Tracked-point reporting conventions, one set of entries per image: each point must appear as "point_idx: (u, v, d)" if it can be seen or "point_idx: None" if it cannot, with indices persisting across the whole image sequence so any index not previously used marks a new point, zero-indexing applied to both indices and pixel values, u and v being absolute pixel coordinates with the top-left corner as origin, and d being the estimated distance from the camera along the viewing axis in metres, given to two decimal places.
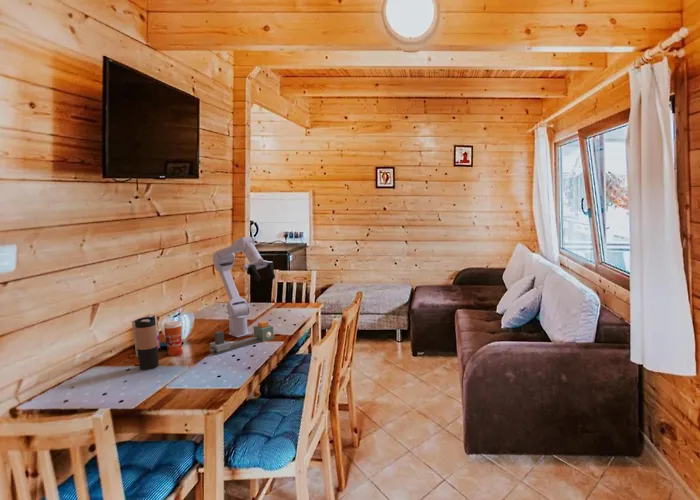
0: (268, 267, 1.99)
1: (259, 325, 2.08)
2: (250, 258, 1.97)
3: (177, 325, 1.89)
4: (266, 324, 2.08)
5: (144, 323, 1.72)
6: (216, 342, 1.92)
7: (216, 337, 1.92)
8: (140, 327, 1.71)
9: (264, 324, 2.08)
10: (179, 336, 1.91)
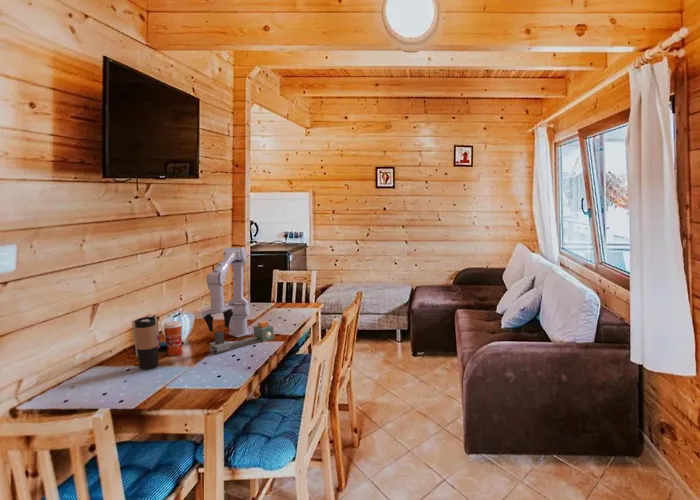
0: (226, 314, 1.94)
1: (259, 325, 2.08)
2: (212, 303, 1.89)
3: (177, 325, 1.89)
4: (266, 324, 2.08)
5: (144, 323, 1.72)
6: (216, 342, 1.92)
7: (216, 337, 1.92)
8: (140, 327, 1.71)
9: (264, 324, 2.08)
10: (179, 336, 1.91)
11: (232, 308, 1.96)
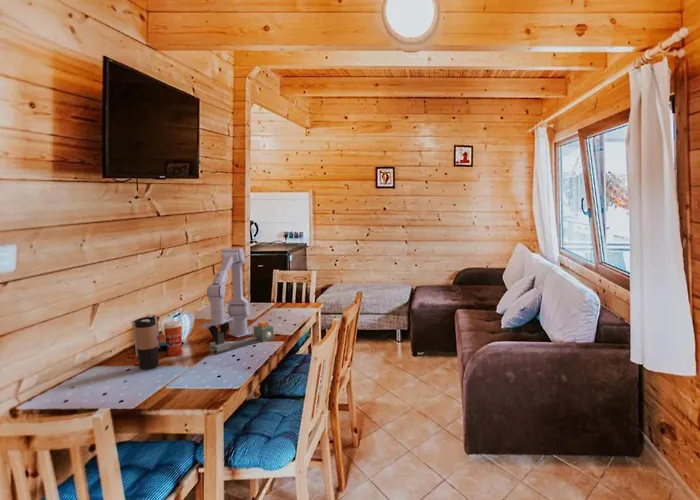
0: (223, 327, 1.93)
1: (259, 325, 2.08)
2: (212, 315, 1.89)
3: (177, 325, 1.89)
4: (266, 324, 2.08)
5: (144, 323, 1.72)
6: None
7: None
8: (140, 327, 1.71)
9: (264, 324, 2.08)
10: (179, 336, 1.91)
11: (232, 320, 1.96)
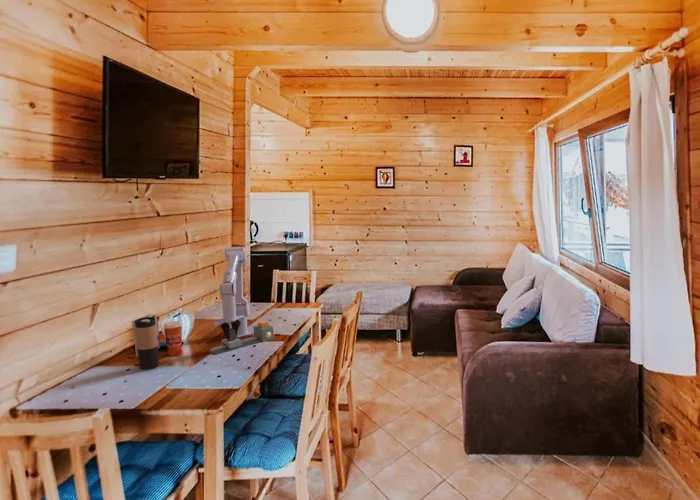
0: (234, 324, 1.97)
1: (259, 325, 2.08)
2: (224, 312, 1.93)
3: (177, 325, 1.89)
4: (266, 324, 2.08)
5: (144, 323, 1.72)
6: (228, 339, 1.96)
7: None
8: (140, 327, 1.71)
9: (264, 324, 2.08)
10: (179, 336, 1.91)
11: (244, 317, 2.00)
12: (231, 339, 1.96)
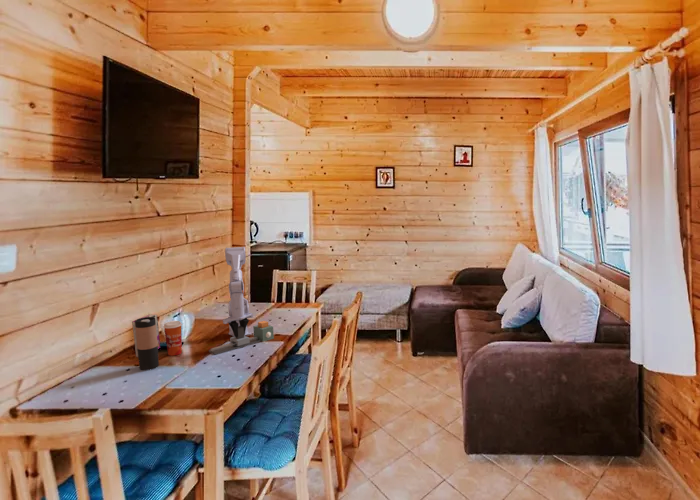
0: (242, 322, 2.00)
1: (259, 325, 2.08)
2: (233, 310, 1.96)
3: (177, 325, 1.89)
4: (266, 324, 2.08)
5: (144, 323, 1.72)
6: (236, 337, 1.99)
7: None
8: (140, 327, 1.71)
9: (264, 324, 2.08)
10: (179, 336, 1.91)
11: (252, 315, 2.03)
12: (239, 337, 1.99)
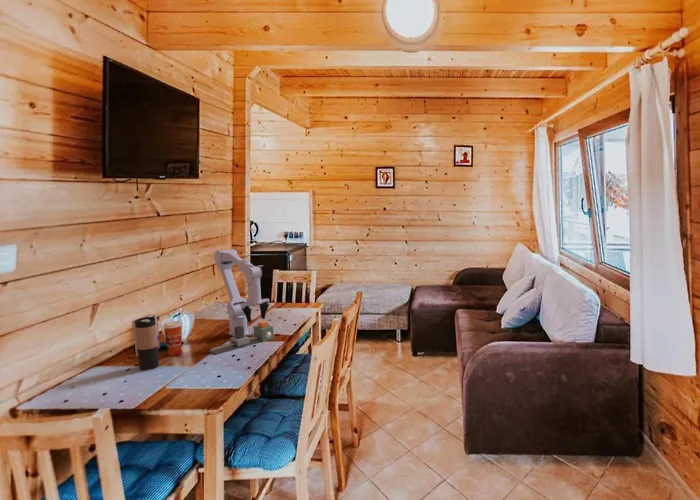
0: (263, 306, 2.07)
1: (259, 325, 2.08)
2: (250, 295, 2.02)
3: (177, 325, 1.89)
4: (266, 324, 2.08)
5: (144, 323, 1.72)
6: (236, 337, 1.99)
7: (236, 332, 1.99)
8: (140, 327, 1.71)
9: (264, 324, 2.08)
10: (179, 336, 1.91)
11: (268, 300, 2.09)
12: (239, 337, 1.99)
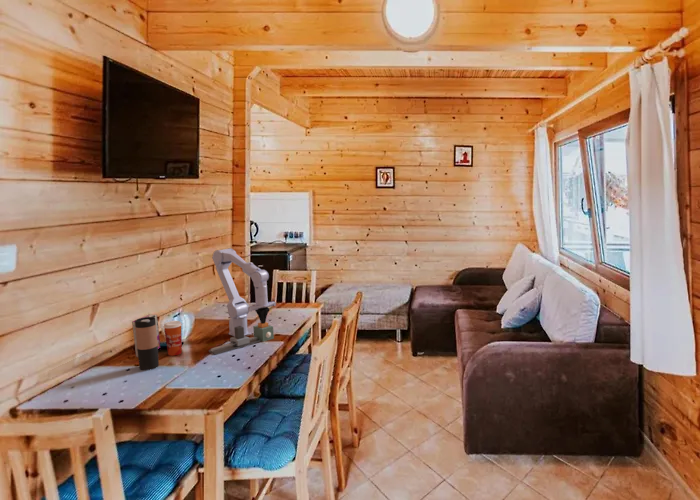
0: None
1: (259, 326, 2.08)
2: (257, 299, 2.05)
3: (177, 325, 1.89)
4: (266, 325, 2.08)
5: (144, 323, 1.72)
6: (236, 337, 1.99)
7: (236, 332, 1.99)
8: (140, 327, 1.71)
9: (264, 325, 2.08)
10: (179, 336, 1.91)
11: (274, 303, 2.12)
12: (239, 337, 1.99)
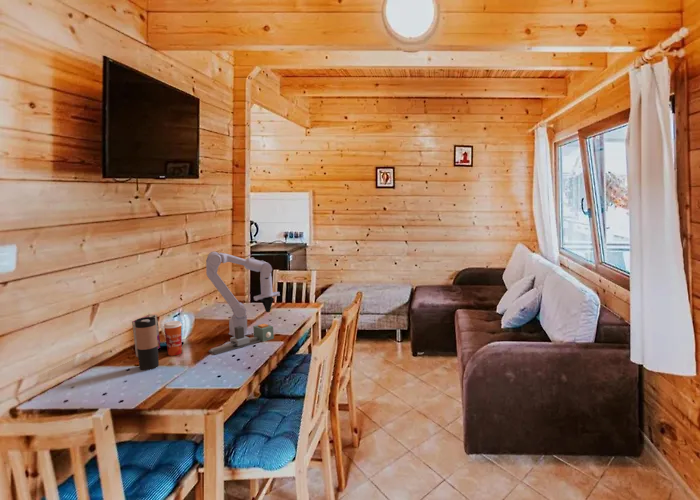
0: None
1: None
2: (262, 289, 2.18)
3: (177, 325, 1.89)
4: None
5: (144, 323, 1.72)
6: (236, 337, 1.99)
7: (236, 332, 1.99)
8: (140, 327, 1.71)
9: None
10: (179, 336, 1.91)
11: (278, 294, 2.24)
12: (239, 337, 1.99)
